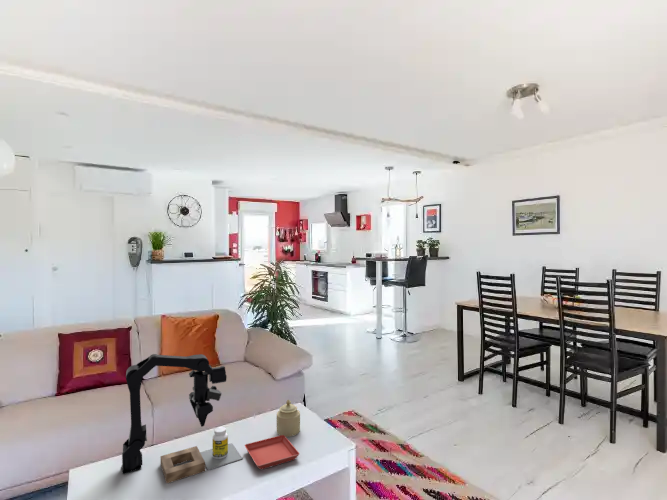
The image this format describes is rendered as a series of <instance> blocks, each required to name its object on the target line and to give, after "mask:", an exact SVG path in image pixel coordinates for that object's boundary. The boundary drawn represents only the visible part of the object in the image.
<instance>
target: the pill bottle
mask: <svg viewBox="0 0 667 500" xmlns="http://www.w3.org/2000/svg"><path fill="white" fill-rule="evenodd" d="M228 444H229V434H228V433H227V428H226V427H225V426H218V427H216V428H214V434H213V435H212V449H213V458H215V459H222V458H225V457H226V456H227V455H228Z"/></svg>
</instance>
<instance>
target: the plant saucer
mask: <svg viewBox="0 0 667 500" xmlns="http://www.w3.org/2000/svg"><path fill="white" fill-rule="evenodd" d="M244 447H245V448H246V450H247V452H248V453H249V456H250V457H251V458H252V460H253V462H254V463H255V465H256V468H258V469H259V470H264V469H268V468H271V466H272V467H275V466H277V465H278V464H279V465H281V463H282V464H285V463H288V461H289V462H292V461H294V460H296V459H297V458H298V457H299V455H300V452H299V451H298V449H296V447H295V446H294V445H293V444H292V442H291V441H290V440H289V439H288V437H285V436H284V435H276V436H273V437H268V438H264V439H262V440H257V441H253V442H250V443H246V444H244ZM291 460H292V461H291Z"/></svg>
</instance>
